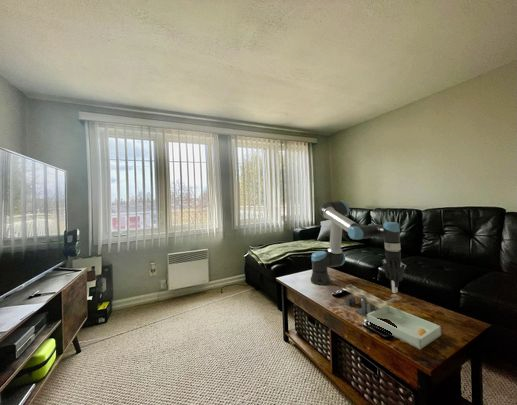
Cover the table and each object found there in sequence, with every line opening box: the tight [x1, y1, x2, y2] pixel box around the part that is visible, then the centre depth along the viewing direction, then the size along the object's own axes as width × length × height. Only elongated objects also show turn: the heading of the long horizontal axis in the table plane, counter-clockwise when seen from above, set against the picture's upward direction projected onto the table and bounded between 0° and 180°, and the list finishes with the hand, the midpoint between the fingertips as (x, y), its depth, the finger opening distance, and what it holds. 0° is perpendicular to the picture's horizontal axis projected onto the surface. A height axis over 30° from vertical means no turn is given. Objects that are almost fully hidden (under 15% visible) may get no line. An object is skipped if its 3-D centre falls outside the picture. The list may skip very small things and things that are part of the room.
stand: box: [345, 293, 377, 318], centre depth 119 cm, size 18×10×9 cm, turn 27°
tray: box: [365, 304, 442, 350], centre depth 100 cm, size 24×18×4 cm
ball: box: [418, 328, 426, 336], centre depth 92 cm, size 3×3×3 cm
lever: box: [345, 284, 403, 309], centre depth 120 cm, size 22×18×3 cm
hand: (394, 292), depth 115 cm, fingers closed
